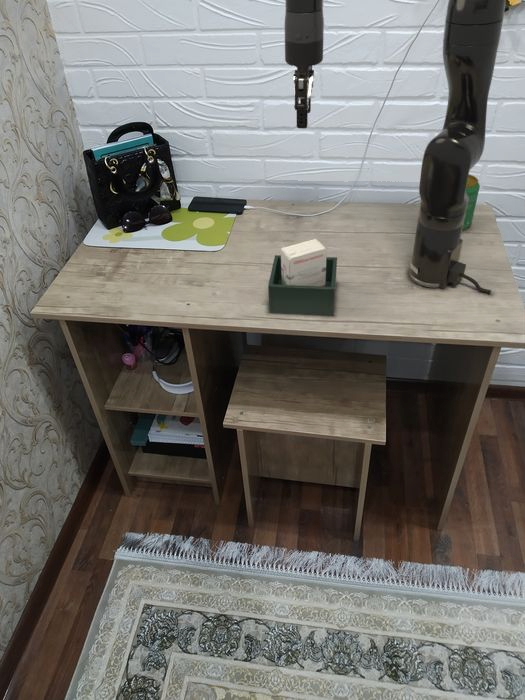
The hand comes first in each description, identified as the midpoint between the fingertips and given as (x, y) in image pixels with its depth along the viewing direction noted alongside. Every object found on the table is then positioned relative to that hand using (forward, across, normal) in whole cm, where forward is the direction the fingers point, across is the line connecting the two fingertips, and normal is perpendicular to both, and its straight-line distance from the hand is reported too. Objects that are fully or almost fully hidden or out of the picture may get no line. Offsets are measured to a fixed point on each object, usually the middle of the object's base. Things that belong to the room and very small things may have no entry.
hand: (303, 119), depth 121 cm
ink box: (+29, -23, -2) cm, 37 cm away
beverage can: (+30, +11, -37) cm, 49 cm away
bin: (+30, -23, -2) cm, 38 cm away
